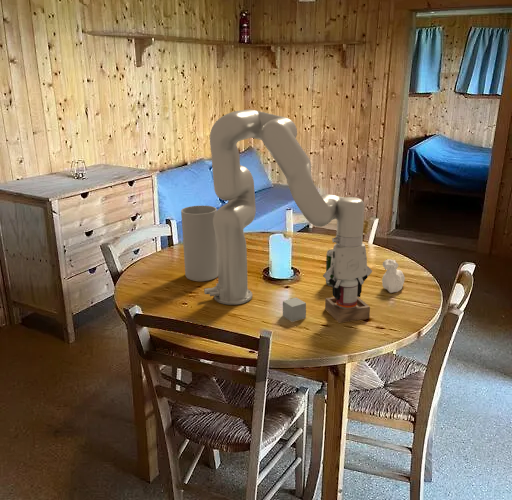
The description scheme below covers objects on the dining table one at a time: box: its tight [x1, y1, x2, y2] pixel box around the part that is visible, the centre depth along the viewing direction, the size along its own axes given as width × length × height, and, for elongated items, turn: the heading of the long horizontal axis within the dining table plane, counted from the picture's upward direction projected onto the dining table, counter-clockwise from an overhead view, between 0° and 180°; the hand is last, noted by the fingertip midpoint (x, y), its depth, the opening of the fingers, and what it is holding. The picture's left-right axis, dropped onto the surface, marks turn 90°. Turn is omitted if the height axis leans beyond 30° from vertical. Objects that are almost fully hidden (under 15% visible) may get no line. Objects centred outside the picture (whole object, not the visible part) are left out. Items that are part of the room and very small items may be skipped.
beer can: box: [325, 249, 334, 288], centre depth 181 cm, size 5×5×12 cm
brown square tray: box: [324, 296, 371, 324], centre depth 159 cm, size 10×10×4 cm
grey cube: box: [282, 297, 307, 323], centre depth 158 cm, size 5×5×5 cm
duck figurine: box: [381, 258, 406, 294], centre depth 177 cm, size 12×8×11 cm
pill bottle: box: [336, 278, 358, 309], centre depth 157 cm, size 6×6×11 cm
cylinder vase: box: [180, 205, 218, 282], centre depth 188 cm, size 12×12×25 cm
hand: (346, 296), depth 158 cm, fingers closed on pill bottle, 6 cm apart
